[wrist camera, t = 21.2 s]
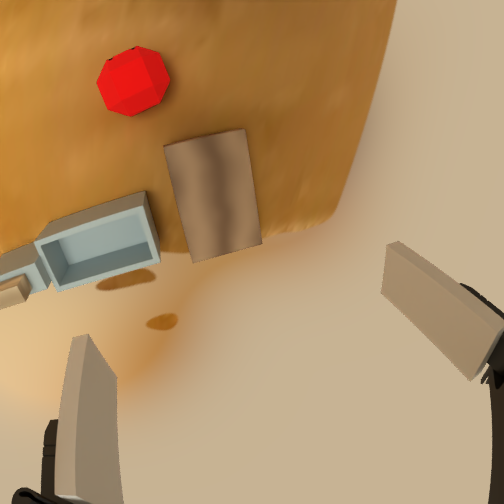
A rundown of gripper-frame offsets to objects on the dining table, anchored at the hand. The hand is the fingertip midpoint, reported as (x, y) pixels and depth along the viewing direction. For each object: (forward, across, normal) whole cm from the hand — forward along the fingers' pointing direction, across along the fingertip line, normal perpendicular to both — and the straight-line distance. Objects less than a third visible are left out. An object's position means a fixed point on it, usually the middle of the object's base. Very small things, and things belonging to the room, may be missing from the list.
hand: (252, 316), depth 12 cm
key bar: (+23, -30, -6) cm, 39 cm away
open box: (+33, -14, -6) cm, 36 cm away
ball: (+33, -4, +13) cm, 36 cm away
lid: (+29, +3, -4) cm, 29 cm away
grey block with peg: (+33, -28, -6) cm, 43 cm away
